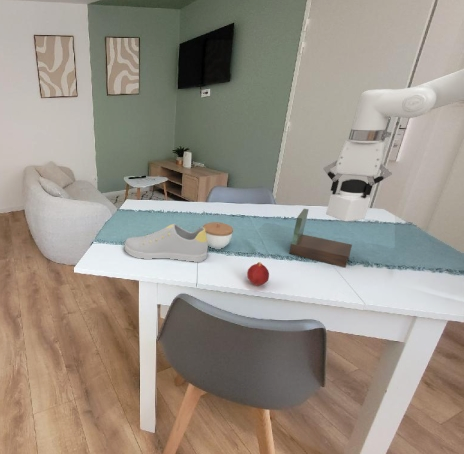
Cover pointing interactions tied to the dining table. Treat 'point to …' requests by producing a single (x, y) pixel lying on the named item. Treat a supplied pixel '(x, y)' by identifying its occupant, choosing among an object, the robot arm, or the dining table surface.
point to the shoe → (170, 244)
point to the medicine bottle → (349, 201)
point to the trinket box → (218, 234)
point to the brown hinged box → (318, 246)
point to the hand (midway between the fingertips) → (348, 194)
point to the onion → (258, 274)
